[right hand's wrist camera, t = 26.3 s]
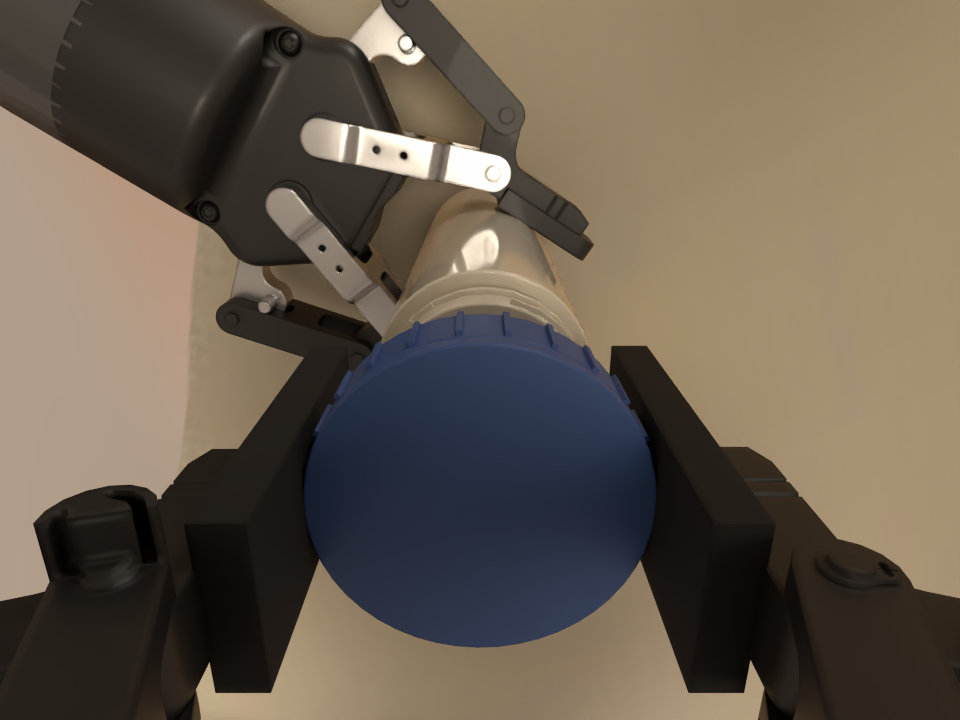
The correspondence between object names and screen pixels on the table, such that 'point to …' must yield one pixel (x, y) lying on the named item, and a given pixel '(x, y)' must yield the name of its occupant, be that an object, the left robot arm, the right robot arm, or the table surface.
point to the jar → (483, 271)
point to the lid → (480, 482)
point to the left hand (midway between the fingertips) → (540, 308)
